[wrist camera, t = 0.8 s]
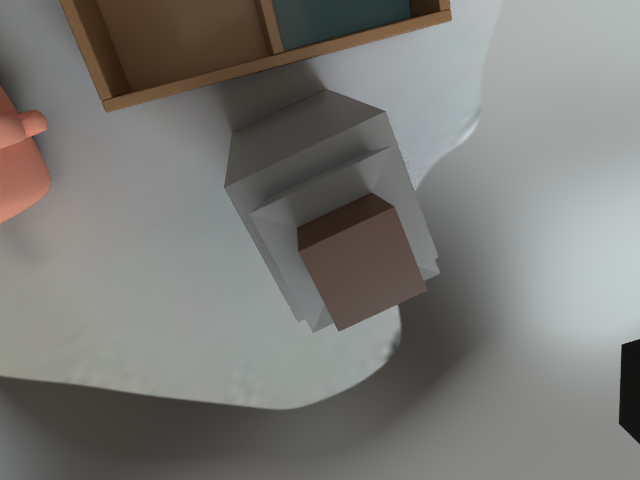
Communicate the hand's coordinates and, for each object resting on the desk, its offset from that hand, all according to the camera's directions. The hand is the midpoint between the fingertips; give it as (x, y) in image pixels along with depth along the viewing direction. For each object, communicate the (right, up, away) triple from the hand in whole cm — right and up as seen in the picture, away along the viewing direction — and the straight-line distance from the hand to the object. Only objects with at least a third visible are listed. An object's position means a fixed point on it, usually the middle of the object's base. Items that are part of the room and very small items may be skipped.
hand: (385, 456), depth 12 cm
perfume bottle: (-3, +11, +20) cm, 23 cm away
